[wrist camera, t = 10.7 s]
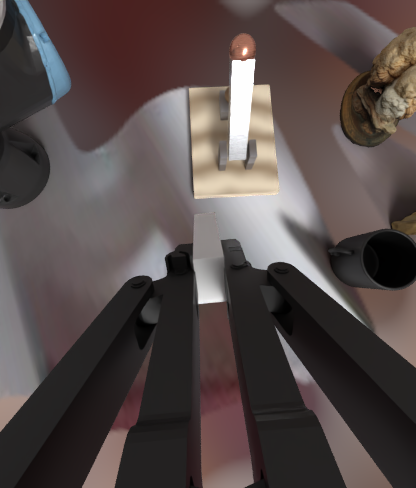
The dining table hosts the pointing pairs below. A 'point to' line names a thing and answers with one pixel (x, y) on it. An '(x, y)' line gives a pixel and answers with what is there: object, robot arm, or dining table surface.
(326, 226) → the dining table surface
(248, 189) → the tan bracket base plate
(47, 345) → the dining table surface
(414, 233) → the rock
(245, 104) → the lever
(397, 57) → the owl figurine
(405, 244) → the mug
